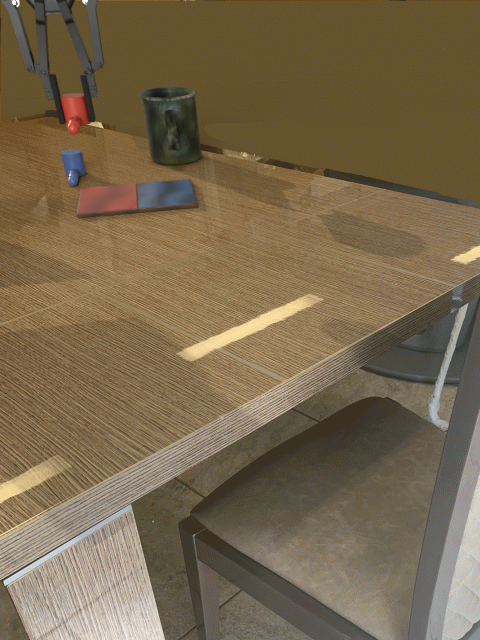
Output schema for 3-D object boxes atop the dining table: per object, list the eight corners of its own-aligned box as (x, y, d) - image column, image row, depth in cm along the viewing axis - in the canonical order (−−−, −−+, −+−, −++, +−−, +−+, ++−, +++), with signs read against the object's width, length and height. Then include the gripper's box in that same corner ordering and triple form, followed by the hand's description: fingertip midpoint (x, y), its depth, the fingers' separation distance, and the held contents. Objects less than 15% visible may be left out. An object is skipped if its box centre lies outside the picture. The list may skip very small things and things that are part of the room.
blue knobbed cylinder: (84, 186, 115) (79, 163, 112) (62, 188, 114) (56, 164, 111) (87, 170, 122) (82, 148, 120) (66, 172, 122) (61, 149, 119)
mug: (202, 149, 134) (195, 85, 126) (206, 169, 122) (198, 100, 115) (149, 152, 132) (138, 88, 125) (148, 173, 121) (136, 103, 113)
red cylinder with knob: (87, 135, 95) (81, 105, 92) (60, 136, 94) (53, 106, 92) (91, 120, 103) (85, 92, 100) (66, 121, 102) (60, 93, 99)
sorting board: (77, 218, 102) (76, 213, 101) (81, 191, 112) (80, 187, 112) (197, 207, 105) (197, 203, 105) (190, 182, 116) (190, 178, 116)
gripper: (-37, -66, 82) (18, 130, 96) (99, -68, 85) (132, 123, 99) (-26, -66, 88) (24, 119, 102) (101, -67, 91) (132, 113, 105)
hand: (77, 121), depth 101 cm, fingers closed on red cylinder with knob, 4 cm apart
